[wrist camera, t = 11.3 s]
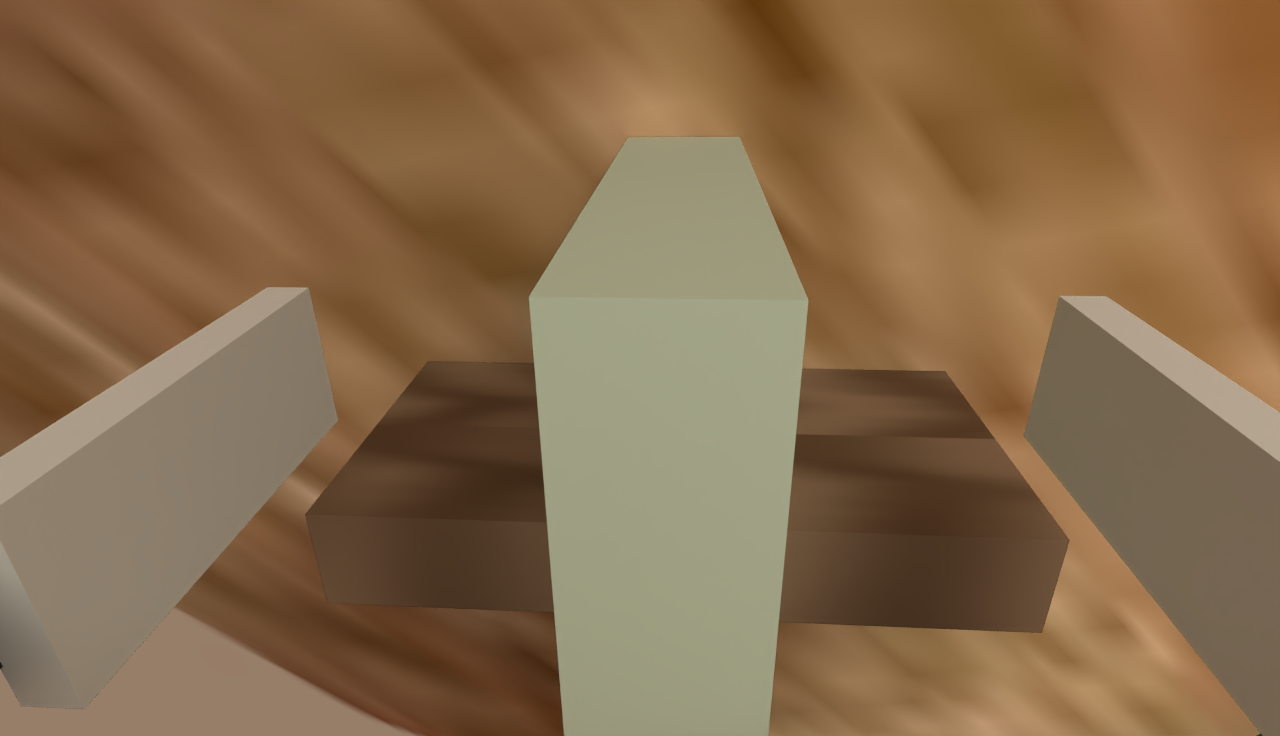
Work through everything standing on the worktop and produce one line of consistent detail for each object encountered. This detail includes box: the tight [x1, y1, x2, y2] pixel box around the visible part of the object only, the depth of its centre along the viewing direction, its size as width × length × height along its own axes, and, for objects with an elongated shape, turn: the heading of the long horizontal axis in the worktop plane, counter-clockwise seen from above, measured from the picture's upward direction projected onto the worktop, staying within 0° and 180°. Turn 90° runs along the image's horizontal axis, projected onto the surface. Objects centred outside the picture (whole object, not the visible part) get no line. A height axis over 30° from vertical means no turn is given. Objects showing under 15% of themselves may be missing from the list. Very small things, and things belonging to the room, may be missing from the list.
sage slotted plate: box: [529, 137, 808, 736], centre depth 17 cm, size 16×3×13 cm, turn 1°
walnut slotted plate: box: [305, 362, 1070, 633], centre depth 19 cm, size 16×2×8 cm, turn 91°
